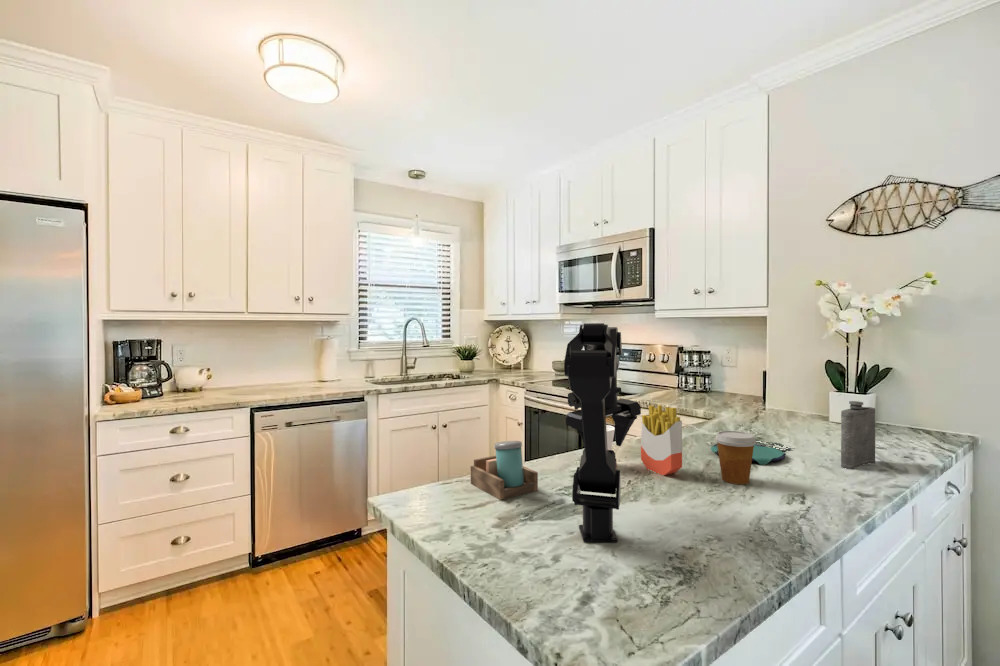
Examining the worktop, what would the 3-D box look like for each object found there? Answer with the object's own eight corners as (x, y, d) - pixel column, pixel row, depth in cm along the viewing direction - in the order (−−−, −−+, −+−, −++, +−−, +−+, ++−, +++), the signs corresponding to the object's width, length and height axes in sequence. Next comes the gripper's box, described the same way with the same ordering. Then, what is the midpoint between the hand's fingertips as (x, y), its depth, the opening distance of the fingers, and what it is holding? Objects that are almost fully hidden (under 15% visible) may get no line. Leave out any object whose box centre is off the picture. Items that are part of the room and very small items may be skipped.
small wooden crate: (537, 490, 116) (537, 466, 116) (500, 500, 110) (500, 474, 110) (506, 475, 128) (505, 453, 128) (470, 483, 122) (470, 460, 122)
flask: (835, 466, 133) (835, 402, 133) (862, 459, 139) (862, 398, 139) (850, 469, 130) (850, 404, 129) (877, 462, 136) (877, 400, 136)
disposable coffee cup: (713, 483, 120) (713, 436, 120) (716, 472, 128) (716, 428, 128) (756, 489, 115) (756, 440, 115) (755, 477, 124) (755, 432, 124)
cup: (616, 471, 130) (616, 432, 130) (580, 469, 132) (579, 430, 132) (615, 461, 140) (614, 424, 140) (581, 459, 142) (581, 423, 142)
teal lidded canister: (515, 488, 111) (511, 445, 112) (492, 486, 115) (488, 445, 116) (530, 481, 117) (526, 440, 118) (507, 480, 121) (504, 440, 121)
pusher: (515, 478, 121) (515, 456, 121) (488, 484, 117) (488, 461, 117) (513, 477, 122) (512, 455, 122) (486, 483, 118) (486, 460, 118)
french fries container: (670, 478, 124) (669, 410, 123) (639, 468, 133) (639, 404, 133) (682, 476, 126) (682, 409, 125) (651, 465, 135) (651, 403, 135)
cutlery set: (699, 455, 146) (700, 447, 146) (743, 440, 165) (743, 434, 165) (768, 470, 131) (768, 462, 131) (808, 452, 150) (808, 445, 150)
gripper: (605, 372, 117) (606, 433, 119) (548, 383, 106) (550, 450, 108) (642, 378, 108) (642, 444, 110) (583, 392, 97) (585, 464, 99)
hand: (604, 450), depth 107 cm, fingers open, 9 cm apart
